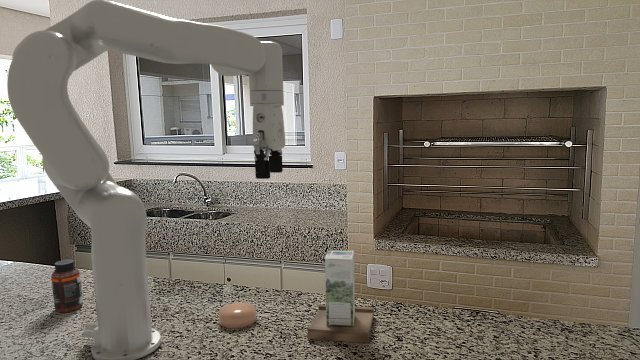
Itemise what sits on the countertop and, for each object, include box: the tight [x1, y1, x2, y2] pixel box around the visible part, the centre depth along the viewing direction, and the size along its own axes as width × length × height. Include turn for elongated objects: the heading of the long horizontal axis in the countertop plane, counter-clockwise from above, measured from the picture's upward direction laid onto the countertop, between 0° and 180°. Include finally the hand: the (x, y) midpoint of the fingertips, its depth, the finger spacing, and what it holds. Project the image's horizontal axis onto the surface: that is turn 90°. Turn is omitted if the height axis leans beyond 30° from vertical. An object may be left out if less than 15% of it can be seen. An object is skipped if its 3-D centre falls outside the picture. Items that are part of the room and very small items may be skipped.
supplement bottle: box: [50, 259, 84, 313], centre depth 113 cm, size 6×6×11 cm
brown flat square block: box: [307, 304, 375, 344], centre depth 100 cm, size 12×12×2 cm
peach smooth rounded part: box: [218, 302, 257, 329], centre depth 105 cm, size 8×8×2 cm
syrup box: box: [324, 250, 356, 326], centre depth 99 cm, size 6×6×14 cm
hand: (269, 175), depth 110 cm, fingers open, 9 cm apart
